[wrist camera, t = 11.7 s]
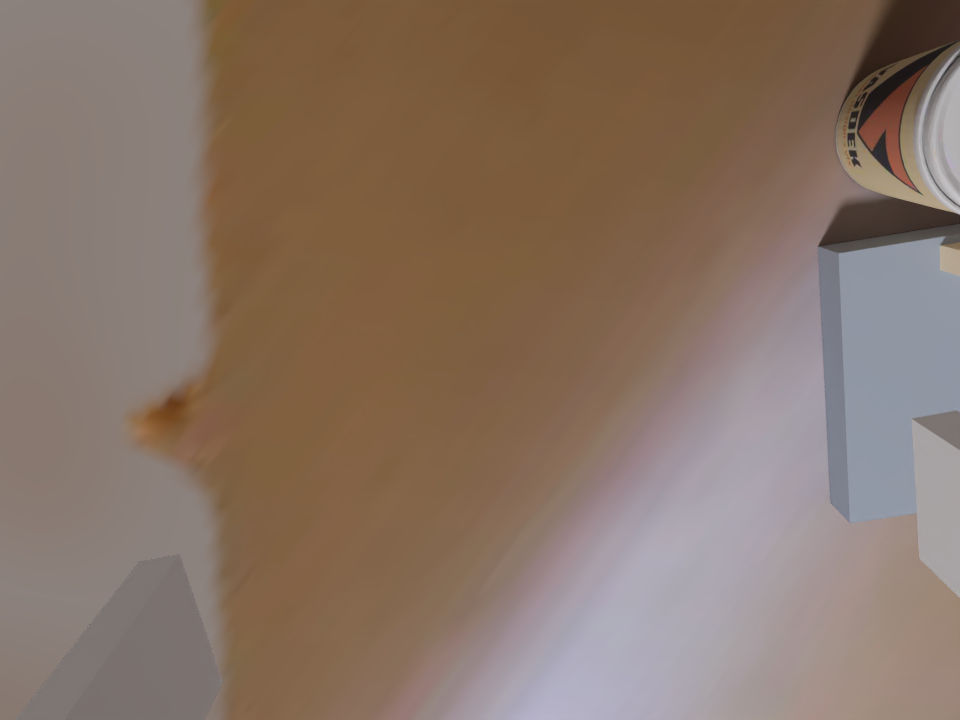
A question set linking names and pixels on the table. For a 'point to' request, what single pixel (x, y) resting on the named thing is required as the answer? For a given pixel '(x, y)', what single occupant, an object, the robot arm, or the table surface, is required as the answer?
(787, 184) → the table surface
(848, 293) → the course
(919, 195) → the coffee cup
